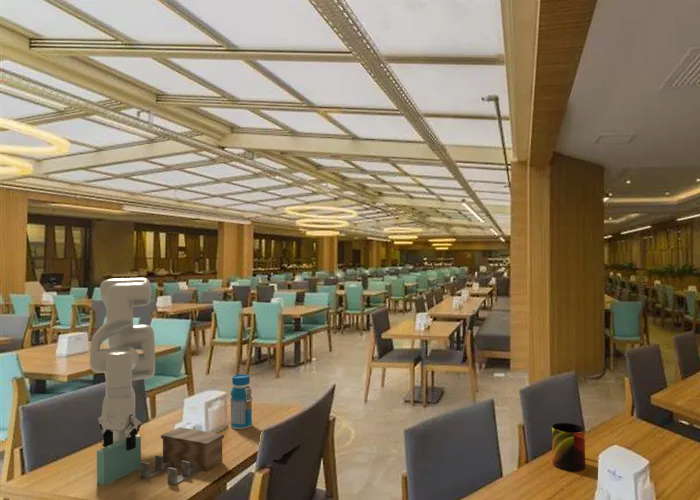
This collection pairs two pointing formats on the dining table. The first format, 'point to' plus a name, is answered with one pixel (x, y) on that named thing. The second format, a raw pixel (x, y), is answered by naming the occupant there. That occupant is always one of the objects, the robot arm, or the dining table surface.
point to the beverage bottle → (241, 402)
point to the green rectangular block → (117, 461)
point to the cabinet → (186, 454)
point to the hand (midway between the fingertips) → (119, 447)
